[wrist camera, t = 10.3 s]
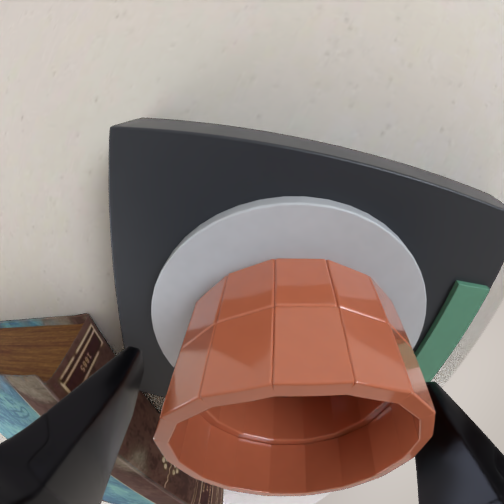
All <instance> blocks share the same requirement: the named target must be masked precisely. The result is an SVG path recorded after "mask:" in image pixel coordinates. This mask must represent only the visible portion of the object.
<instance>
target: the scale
mask: <svg viewBox="0 0 504 504" xmlns="http://www.w3.org/2000/svg"><path fill="white" fill-rule="evenodd" d="M109 212H110V232H111V247H112V259H113V270H114V279H115V288H116V296H117V304H118V311H119V318H120V325H121V331H122V337H123V343H124V349H125V348H126V347H128V346H132V347H136V348H139V349H141V350H142V354H143V361H144V373H143V377H142V381H141V384H140V388H139V391H141V392H145V393H149V394H153V395H157V396H161V397H165V395H166V392H167V388H168V385H169V382H170V379H171V376H172V372H173V369H174V366H175V363H176V360H177V357H178V354H179V350H180V347H181V344H182V341H183V338H184V335H185V332H186V329H187V326H188V323H189V321H190V318H191V315H192V312H193V309H194V307H195V304H196V302H197V301H198V300H199V299H200V298H201V297H202V296H203V295H204V294H206V293H207V292H208V291H209V290H210V289H211V288H212V287H213V286H215V285H216V284H217V283H218V282H219V281H220V280H221V279H222V278H224V277H225V276H226V275H228V274H229V273H232V272H235V271H238V270H241V269H244V268H247V267H250V266H252V265H255V264H258V263H261V262H264V261H267V260H270V259H274V260H275V259H277V258H305V259H325V260H327V259H328V260H331V261H334V262H336V263H339V264H341V265H344V266H346V267H349V268H351V269H354V270H356V271H359V272H361V273H364V274H366V275H368V276H370V277H371V278H372V279H373V280H374V281H375V283H376V284H377V285H378V286H379V287H380V288H381V289H382V290H383V292H384V293H385V294H386V295H387V296H388V297H389V298H390V300H391V301H392V302H393V304H394V307H395V309H396V311H397V313H398V316H399V318H400V320H401V323H402V325H403V327H404V330H405V332H406V334H407V337H408V339H409V342H410V344H411V347H412V349H413V351H414V354H415V356H416V359H417V361H418V364H419V367H420V369H421V372H422V375H423V377H424V380H425V382H430V381H431V380H432V379H433V377H434V376H435V375H436V373H437V372H438V371H439V369H440V368H441V367H442V365H443V364H444V363H445V361H446V360H447V358H448V357H449V356H450V354H451V353H452V351H453V350H454V348H455V347H456V345H457V344H458V342H459V341H460V339H461V338H462V336H463V335H464V333H465V332H466V330H467V328H468V327H469V325H470V324H471V322H472V320H473V319H474V317H475V315H476V314H477V312H478V310H479V309H480V307H481V305H482V303H483V302H484V300H485V298H486V296H487V294H488V293H489V291H490V288H491V286H492V284H493V282H494V281H495V279H496V277H497V275H498V273H499V271H500V269H501V266H502V264H503V262H504V204H503V203H502V202H500V201H499V200H497V199H496V198H494V197H493V196H491V195H490V194H487V193H485V192H482V191H480V190H477V189H475V188H472V187H470V186H467V185H464V184H462V183H459V182H456V181H454V180H451V179H448V178H445V177H443V176H440V175H437V174H434V173H431V172H428V171H425V170H422V169H419V168H416V167H412V166H409V165H406V164H403V163H399V162H396V161H393V160H389V159H386V158H382V157H379V156H375V155H371V154H368V153H364V152H360V151H356V150H352V149H348V148H344V147H340V146H336V145H331V144H327V143H323V142H318V141H313V140H309V139H304V138H299V137H294V136H289V135H283V134H278V133H272V132H266V131H260V130H254V129H247V128H241V127H234V126H226V125H219V124H210V123H201V122H192V121H182V120H170V119H156V118H139V119H135V120H132V121H128V122H124V123H121V124H118V125H114V126H111V127H110V136H109Z"/></svg>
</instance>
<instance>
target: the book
mask: <svg viewBox="0 0 504 504" xmlns="http://www.w3.org/2000/svg"><path fill="white" fill-rule="evenodd" d="M114 357H115V354H114V353H113V351H112V350H111V348H110V347H109V345H108V344H107V342H106V341H105V339H104V338H103V336H102V335H101V333H100V331H99V330H98V328H97V327H96V325H95V323H94V322H93V320H92V319H91V317H90V316H89V314H87V313H85V314H80V315H75V316H60V317H47V318H34V319H22V320H9V321H0V433H1V434H2V435H3V436H4V437H6V438H7V439H9V438H10V437H12V436H14V435H15V434H17V433H18V432H20V431H21V430H23V429H24V428H26V427H27V426H28V425H30V424H31V423H32V422H34V421H35V420H36V419H38V418H39V417H40V416H41V415H43V414H44V413H47V411H48V410H49V409H50V408H51V407H53V406H54V405H55V404H56V403H58V402H59V401H60V400H61V399H63V398H64V397H65V396H66V395H68V394H69V393H70V392H71V391H73V390H74V389H75V388H76V387H78V386H79V385H80V384H81V383H83V382H84V381H85V380H86V379H88V378H89V377H90V376H91V375H92V374H94V373H95V372H96V371H97V370H99V369H100V368H101V367H102V366H104V365H105V364H106V363H107V362H109V361H110V360H111V359H112V358H114ZM159 415H160V414H159V413H158V412H157V410H156V409H155V408H154V407H153V405H152V404H151V403H150V402H149V400H148V399H147V398H146V397H145V395H144V394H143V393H142V392H141V391H139V392H138V396H137V400H136V404H135V408H134V412H133V415H132V418H131V421H130V424H129V426H128V429H127V432H126V434H125V437H124V440H123V442H122V445H121V448H120V450H119V453H118V456H117V459H116V461H115V464H114V467H113V470H112V472H111V475H110V478H109V481H108V484H107V487H106V490H105V493H104V495H103V498H102V501H105V502H108V503H112V504H223V488H220V487H217V486H214V485H212V484H209V483H206V482H203V481H200V480H198V479H195V478H193V477H191V476H189V475H188V474H186V473H185V472H183V471H181V470H180V469H178V468H177V467H175V466H174V465H172V464H171V463H169V462H168V461H167V460H166V459H165V458H164V456H163V455H162V453H161V452H160V450H159V448H158V447H157V445H156V444H155V442H154V440H153V435H154V431H155V428H156V425H157V421H158V418H159Z"/></svg>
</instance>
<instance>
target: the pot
mask: <svg viewBox="0 0 504 504" xmlns="http://www.w3.org/2000/svg"><path fill="white" fill-rule="evenodd" d="M435 414H436V412H435V409H434V406H433V403H432V400H431V397H430V394H429V391H428V388H427V386H426V383H425V380H424V377H423V375H422V372H421V369H420V367H419V364H418V361H417V359H416V356H415V354H414V351H413V349H412V347H411V344H410V342H409V339H408V337H407V334H406V332H405V330H404V327H403V325H402V323H401V320H400V318H399V316H398V313H397V311H396V309H395V307H394V304H393V302H392V301H391V300H390V298H389V297H388V296H387V295H386V294H385V293H384V292H383V290H382V289H381V288H380V287H379V286H378V285H377V284H376V283H375V281H374V280H373V279H372V278H371V277H370V276H368V275H366V274H364V273H361V272H359V271H356V270H354V269H351V268H349V267H346V266H344V265H341V264H339V263H336V262H334V261H331V260H328V259H327V260H325V259H305V258H277V259H275V260H274V259H270V260H267V261H264V262H261V263H258V264H255V265H252V266H250V267H247V268H244V269H241V270H238V271H235V272H232V273H229V274H228V275H226V276H225V277H224V278H222V279H221V280H220V281H219V282H218V283H217V284H216V285H215V286H213V287H212V288H211V289H210V290H209V291H208V292H207V293H206V294H204V295H203V296H202V297H201V298H200V299H199V300H198V301H197V302H196V304H195V307H194V309H193V312H192V315H191V318H190V321H189V323H188V326H187V329H186V332H185V335H184V338H183V341H182V344H181V347H180V350H179V354H178V357H177V360H176V363H175V366H174V369H173V372H172V376H171V379H170V382H169V385H168V388H167V392H166V395H165V398H164V401H163V405H162V408H161V411H160V415H159V418H158V421H157V425H156V428H155V431H154V435H153V440H154V442H155V444H156V445H157V447H158V448H159V450H160V452H161V453H162V455H163V456H164V458H165V459H166V460H167V461H168V462H169V463H171V464H172V465H174V466H175V467H177V468H178V469H180V470H181V471H183V472H185V473H186V474H188V475H189V476H191V477H193V478H195V479H198V480H200V481H203V482H206V483H209V484H212V485H214V486H217V487H220V488H223V489H228V490H231V491H237V492H243V493H249V494H256V495H264V496H266V495H267V496H306V495H314V494H321V493H327V492H333V491H338V490H343V489H346V488H351V487H354V486H357V485H360V484H363V483H365V482H368V481H371V480H374V479H376V478H379V477H382V476H384V475H386V474H387V473H389V472H391V471H392V470H394V469H396V468H398V467H399V466H401V465H403V464H404V463H406V462H407V461H409V460H410V459H412V458H413V457H415V455H416V454H417V453H418V452H419V451H420V450H421V449H422V448H423V447H424V445H425V444H426V443H427V442H428V441H429V440H430V439H431V437H432V435H433V431H434V423H435Z"/></svg>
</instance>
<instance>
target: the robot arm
mask: <svg viewBox="0 0 504 504" xmlns="http://www.w3.org/2000/svg"><path fill="white" fill-rule="evenodd" d="M143 373H144V361H143V354H142V350H141V349H139V348H136V347H132V346H128V347H126V348H125V349H124V350H122V351H121V352H120V353H119V354H117V355H116V356H115V357H114V358H112V359H111V360H110V361H109V362H107V363H106V364H105V365H104V366H102V367H101V368H100V369H99V370H97V371H96V372H95V373H94V374H92V375H91V376H90V377H89V378H88V379H86V380H85V381H84V382H83V383H81V384H80V385H79V386H78V387H76V388H75V389H74V390H73V391H71V392H70V393H69V394H68V395H66V396H65V397H64V398H63V399H61V400H60V401H59V402H58V403H56V404H55V405H54V406H53V407H51V408H50V409H49V410H48V411H47V413H44V414H43V415H41V416H40V417H39V418H38V419H36V420H35V421H34V422H32V423H31V424H30V425H28V426H27V427H26V428H24V429H23V430H21V431H20V432H18V433H17V434H15V435H14V436H12V437H10V438H9V439H7V440H6V441H4V442H2V443H1V444H0V504H101V501H102V498H103V495H104V493H105V490H106V487H107V484H108V481H109V478H110V475H111V472H112V470H113V467H114V464H115V461H116V459H117V456H118V453H119V450H120V448H121V445H122V442H123V440H124V437H125V434H126V432H127V429H128V426H129V424H130V421H131V418H132V415H133V412H134V408H135V404H136V400H137V396H138V392H139V388H140V384H141V381H142V377H143ZM425 383H426V386H427V388H428V391H429V394H430V397H431V400H432V403H433V406H434V409H435V412H436V414H435V423H434V431H433V435H432V437H431V439H430V440H429V441H428V442H427V443H426V444H425V445H424V447H423V448H422V449H421V450H420V451H419V452H418V453H417V454H416V455H415V460H416V470H417V483H418V498H419V504H504V455H503V454H502V453H501V452H500V451H499V449H498V448H497V447H495V445H494V444H493V443H492V442H491V441H490V439H488V437H487V436H486V435H485V434H484V433H483V432H482V431H481V430H480V428H479V427H478V426H477V425H476V424H475V423H474V422H473V421H472V420H471V419H470V418H469V417H468V415H467V414H465V412H464V411H463V410H462V409H461V408H460V407H459V406H458V405H457V404H456V403H455V402H454V401H453V400H452V399H451V397H450V396H449V395H448V394H446V392H445V391H444V390H443V389H442V388H441V387H440V386H439V385H438V384H437V383H436V382H425Z"/></svg>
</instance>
